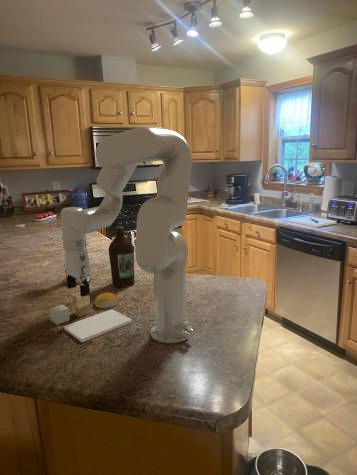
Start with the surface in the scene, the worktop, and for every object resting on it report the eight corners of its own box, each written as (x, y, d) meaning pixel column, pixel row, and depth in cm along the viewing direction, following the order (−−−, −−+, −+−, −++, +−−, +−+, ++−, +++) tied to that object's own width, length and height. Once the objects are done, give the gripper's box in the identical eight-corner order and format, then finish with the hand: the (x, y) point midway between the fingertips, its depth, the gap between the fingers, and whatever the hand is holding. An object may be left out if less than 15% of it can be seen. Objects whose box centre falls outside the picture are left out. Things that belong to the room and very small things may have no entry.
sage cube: (69, 320, 118) (68, 308, 117) (56, 325, 115) (55, 312, 114) (63, 316, 121) (62, 304, 120) (51, 320, 118) (49, 308, 117)
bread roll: (116, 298, 136) (115, 288, 136) (117, 307, 128) (117, 297, 127) (94, 300, 135) (93, 290, 134) (94, 310, 126) (93, 299, 125)
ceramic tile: (132, 322, 115) (131, 319, 115) (82, 342, 103) (81, 339, 103) (112, 311, 124) (112, 309, 124) (63, 329, 112) (63, 326, 112)
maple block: (90, 313, 123) (89, 294, 122) (79, 317, 120) (77, 298, 119) (84, 309, 127) (83, 291, 125) (73, 313, 124) (71, 294, 122)
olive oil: (107, 283, 153) (102, 227, 148) (129, 278, 159) (125, 223, 153) (117, 290, 144) (112, 230, 139) (140, 284, 150) (136, 227, 145)
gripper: (97, 246, 114) (100, 295, 118) (73, 238, 127) (76, 282, 131) (76, 251, 110) (80, 302, 113) (53, 241, 122) (57, 287, 126)
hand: (78, 291), depth 122 cm, fingers open, 9 cm apart
